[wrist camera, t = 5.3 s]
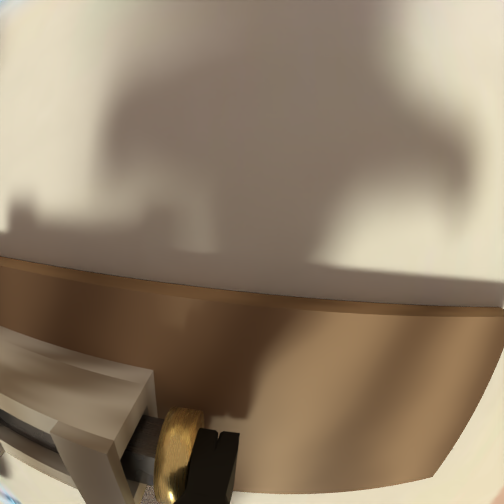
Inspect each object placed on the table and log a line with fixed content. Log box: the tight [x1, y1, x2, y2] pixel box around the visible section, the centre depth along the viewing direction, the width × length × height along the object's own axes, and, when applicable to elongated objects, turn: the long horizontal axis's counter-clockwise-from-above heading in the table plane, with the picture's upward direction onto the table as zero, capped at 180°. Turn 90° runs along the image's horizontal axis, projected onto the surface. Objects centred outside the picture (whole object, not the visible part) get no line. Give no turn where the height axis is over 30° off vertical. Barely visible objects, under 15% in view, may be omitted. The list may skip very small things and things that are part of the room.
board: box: [0, 256, 504, 504], centre depth 9 cm, size 25×11×6 cm, turn 85°
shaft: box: [0, 406, 204, 504], centre depth 9 cm, size 12×4×4 cm, turn 85°
